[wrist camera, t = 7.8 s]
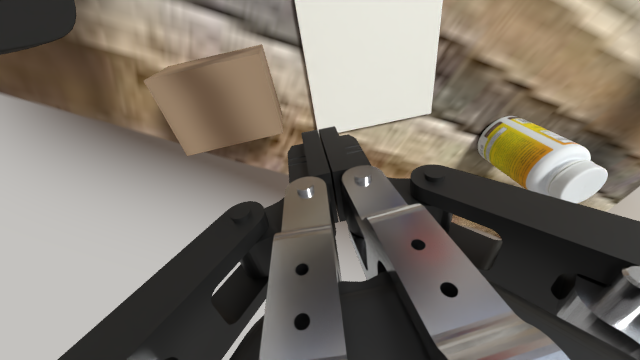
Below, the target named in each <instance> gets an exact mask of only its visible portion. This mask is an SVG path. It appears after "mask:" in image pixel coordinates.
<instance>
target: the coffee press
mask: <svg viewBox="0 0 640 360" xmlns="http://www.w3.org/2000/svg"><path fill="white" fill-rule="evenodd" d="M75 19H76V7H75V3H74V0H0V55H1V54H6V53H11V52H16V51H20V50H24V49H29V48H32V47H36V46H39V45H42V44H46V43H49V42H52V41H55V40H57V39H60V38H62V37H64V36H65V35H67V34H68V33H69V32H70V31H71V30H72V29H73V26H74V24H75Z"/></svg>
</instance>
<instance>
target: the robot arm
mask: <svg viewBox="0 0 640 360" xmlns="http://www.w3.org/2000/svg"><path fill="white" fill-rule="evenodd" d="M319 136H320V137H319ZM302 139H303V144H299V145H294V146H292V147H291V148H290V150H289V151H288V165H289V183H290V184H289V185H288V186H287V188H286V190H285V197H284V198H283V199H282V200H280V201H279V202H277V203H275V204H273V205H271V206H269V207H267V208H263V206H262V205H261V204H260V203H257V202H253V201H248V202H243V203H240V204H237V205H235V206H233V207H231V208H230V209H228V210H227V211H226V212H225V213H224V214H223V215H221V216H220V217H219V218H218V219H217V220H216V221H215V222H214V223H213V224H211V225H210V226H209V227H208V228H207V229H206V230H204V231H203V232H202V233H201V234H200V235H199V236H198V237H196V238H195V239H194V240H193V241H192V242H191V243H190V244H189V245H187V246H186V247H185V248H184V249H183V250H182V251H181V252H180V253H178V254H177V255H176V256H175V257H174V258H173V259H171V260H170V261H169V262H168V263H167V264H166V265H165V266H163V267H162V268H161V269H160V270H159V271H158V272H157V273H156V274H154V275H153V276H152V277H151V278H150V279H149V280H148V281H146V283H144V284H143V285H142V286H141V287H140V288H138V289H137V290H136V291H135V292H134V293H133V294H132V295H131V296H129V297H128V298H127V299H126V300H125V301H124V302H123V303H121V304H120V305H119V306H118V307H117V308H116V309H115V310H114V311H112V312H111V313H110V314H109V315H108V316H107V317H106V318H104V319H103V320H102V321H101V322H100V323H99V324H98V325H97V326H95V327H94V328H93V329H92V330H91V331H90V332H88V333H87V334H86V335H85V336H84V337H83V338H82V339H80V340H79V341H78V342H77V343H76V344H75V345H74V346H73V347H71V348H70V349H69V350H68V351H67V352H66V353H65V354H63V355H62V356H61V357H60V358H59V359H58V360H221V359H222V358H223V357H224V355H225V354H226V353H227V351H228V350H229V349H230V347H231V346H232V344H233V343H234V341H235V340H236V339H237V338H238V336H239V335H240V333H241V332H242V331H243V329H244V328H245V327H246V325H247V324H248V322H249V321H250V320H251V318H252V317H253V316H254V314H255V313H256V311H257V310H258V309H259V307H260V306H261V305H262V303H263V302H264V300H265V299H266V306H265V314H264V316H262V317H261V319H259V321H257V322H256V323H255V324H254V326H253V327H252V328H251V329H250V331H249V332H248V333H247V334H246V336H245V337H244V339H243V340H242V342H241V343H240V344H239V346H238V348H237V349H236V351H235V352H234V353H233V355H232V357H231V358H230V359H229V360H640V221H636V220H632V219H629V218H626V217H622V216H618V215H615V214H611V213H608V212H604V211H601V210H597V209H594V208H590V207H587V206H583V205H580V204H576V203H572V202H569V201H565V200H562V199H558V198H555V197H551V196H548V195H544V194H541V193H537V192H534V191H530V190H526V189H523V188H519V187H516V186H512V185H509V184H505V183H502V182H498V181H495V180H491V179H488V178H484V177H480V176H477V175H473V174H470V173H466V172H463V171H459V170H456V169H452V168H449V167H445V166H441V165H424V166H420V167H418V168H416V169H415V170H413V172H412V173H411V179H396V178H388V177H386V176H385V175H384V173H383V172H382V171H381V170H380V169H378V168H376V167H373V166H371V164H370V162H369V161H368V159H367V157H366V155H365V154H364V152H363V151H362V148H361V147H360V146H359V143H358V141H357V140H356V138H354V137H352V136H350V135H343V136H339V134H338V132H337V130H336V128H335V126H333V127H328V128H323V129H319V133H318V130H314V131H309V132H304V133H302ZM336 209H337V210H336ZM337 212H338V216H339V219H340V222H341V221H345V220H346V221H347V224H348V230H349V236H350V239H351V242H352V244H353V246H354V249H355V252H356V254H357V256H358V259H359V261H360V264H361V266H362V269H363V271H364V274H365V276H366V279H367V280H366V281H363V282H347V281H341V273H340V266H339V259H338V252H337V245H336V239H335V236H336V228H335V223H337V222H338V216H337ZM453 214H454V215H457V216H459V217H462V218H465V219H467V220H470V221H472V222H475V223H477V224H480V225H483V226H485V227H488V228H490V229H492V230H494V231H495V232H497V233H498V234H499V235H500V236H501V238H502V240H493V239H491V238H488V237H486V236H483V235H481V234H479V233H476V232H474V231H471V230H469V229H467V228H464V227H462V226H459V225H457V224H454V223H452V222H451V220H452V215H453ZM239 261H240V262H241V265H240V266H239V267H238V268H237V269H236V270H235V271H234V272H233V274H232V275H231V276H230V277H229V278H228V279H227V280H226V281H225V283H224V284H223V285H222V286H221V287H220V288H219V289H218V290H217V292H216V293H215V294H214V295H213V296H212V294H213V292H214V290H215V288H216V287H217V286H218V284H219V283H220V282H221V281H222V280H223V279H224V278H225V277H226V276H227V274H228V273H229V272H230V271H231V270H232V269H233V268H234V267H235V266H236V264H237V263H238V262H239Z"/></svg>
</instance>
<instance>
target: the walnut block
mask: <svg viewBox="0 0 640 360" xmlns="http://www.w3.org/2000/svg"><path fill="white" fill-rule="evenodd" d="M144 82H145V84H146V86H147V88H148V89H149V91H150V93H151V94H152V96H153V98H154V100H155V101H156V103H157V105H158V107H159V108H160V110H161V112H162V113H163V115H164V117H165V119H166V120H167V122H168V124H169V125H170V127H171V129H172V131H173V132H174V134H175V136H176V138H177V139H178V141H179V143H180V144H181V146H182V148H183V150H184V151H185V153H186V155H187V156H189V155H194V154H198V153H202V152H206V151H210V150H215V149H219V148H223V147H227V146H231V145H236V144H240V143H244V142H248V141H252V140H256V139H261V138H265V137H269V136H273V135H277V134H282V133H283V125H282V112H281V108H280V105H279V101H278V98H277V94H276V91H275V88H274V84H273V81H272V77H271V74H270V70H269V67H268V63H267V60H266V56H265V53H264V49H263V46H262V45H258V46H253V47H249V48H245V49H241V50H236V51H232V52H228V53H224V54H219V55H215V56H211V57H207V58H202V59H198V60H194V61H190V62H185V63H181V64H177V65H173V66H168V67H167V68H165V69H163V70H161V71H160V72H158V73H156V74H154V75H153V76H151V77H149V78H147V79H146V80H144Z"/></svg>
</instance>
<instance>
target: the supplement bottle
mask: <svg viewBox="0 0 640 360" xmlns="http://www.w3.org/2000/svg"><path fill="white" fill-rule="evenodd" d="M478 151H479V154H480V155H481V156H482V157H483V158H484V159H485V160H487V161H488V162H490V163H491V164H492V165H494V166H495V167H496V168H498V169H499V170H501V171H502V172H503V173H505V174H506V175H507V176H509V177H510V178H512V179H513V180H514V181H516V182H517V183H518V184H520V185H521V186H523V187H524V188H525V189H527V190H530V191H534V192H537V193H541V194H544V195H548V196H551V197H555V198H558V199H562V200H565V201H569V202H572V203H579V202H582V201H584V200H586V199H588V198H589V197H591V196H592V195H594V194H595V193H596V192H597V191H598V190H599V189H600V188H601V187H602V186H603V185H604V183H605V182H606V180H607V176H608V173H607V171H606V169H604V168H603V167H601V166H599V165H597V164H595V163H594V162H592V161H590V160H591V156H590V153H589V151H588V150H587V149H586V148H585V147H583V146H581V145H579V144H577V143H575V142H573V141H570V140H568V139H566V138H564V137H562V136H559V135H557V134H555V133H553V132H551V131H549V130H546V129H544V128H542V127H540V126H537V125H535V124H533V123H531V122H528V121H526V120H524V119H522V118H519V117H516V116H507V117H503V118H501V119H498V120H496V121H495V122H493V123H492V124H491V125H489V126H488V127H487V128H486V129H485V130H484V132H483V133H482V135H481V137H480V139H479V142H478Z"/></svg>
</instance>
